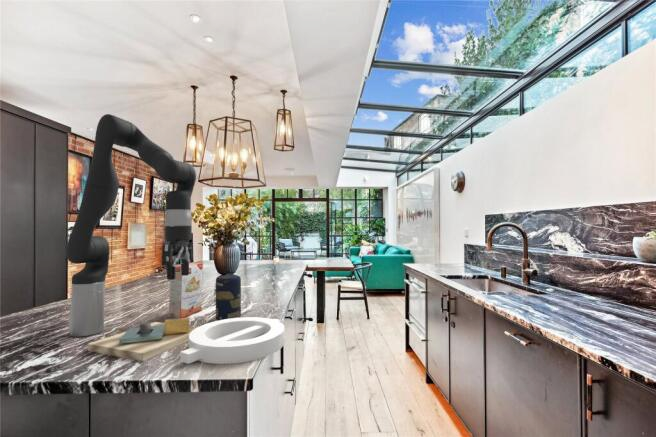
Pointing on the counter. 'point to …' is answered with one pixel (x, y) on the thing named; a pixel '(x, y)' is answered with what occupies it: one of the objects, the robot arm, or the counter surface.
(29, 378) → the counter surface
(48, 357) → the counter surface
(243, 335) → the white circle with bar
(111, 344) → the base board
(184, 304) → the cracker box
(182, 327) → the t-shaped piece
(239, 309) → the canister
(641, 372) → the counter surface
